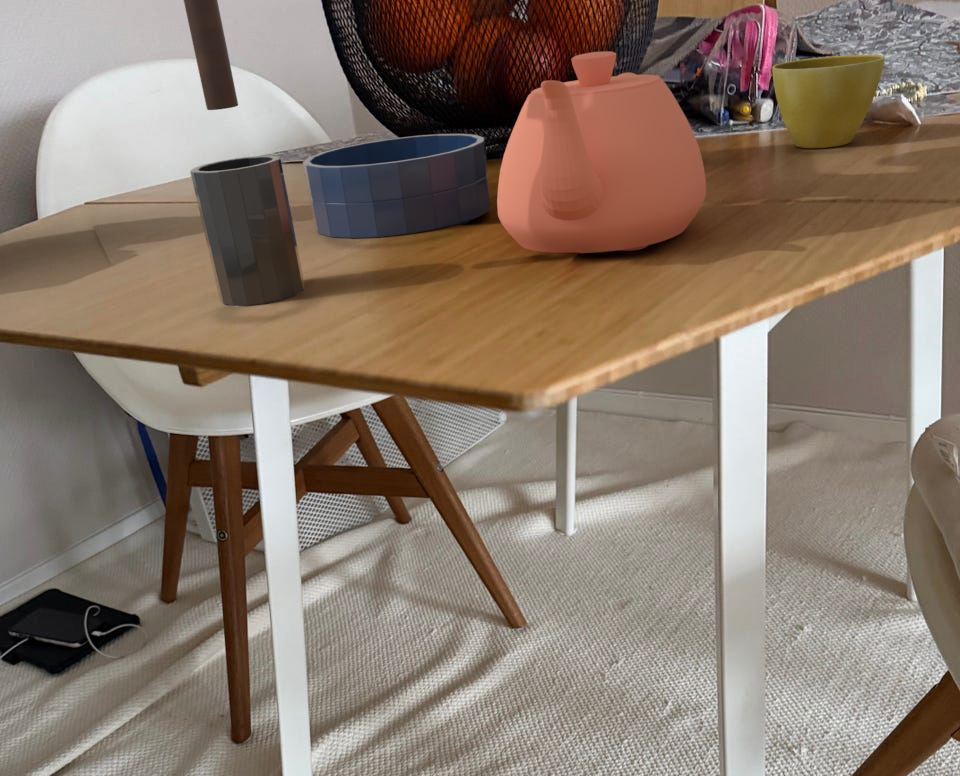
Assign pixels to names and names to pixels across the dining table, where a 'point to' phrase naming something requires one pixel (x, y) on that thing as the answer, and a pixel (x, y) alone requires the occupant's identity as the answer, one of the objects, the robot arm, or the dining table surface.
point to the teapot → (600, 163)
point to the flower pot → (826, 97)
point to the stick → (211, 53)
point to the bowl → (398, 185)
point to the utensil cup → (249, 230)
